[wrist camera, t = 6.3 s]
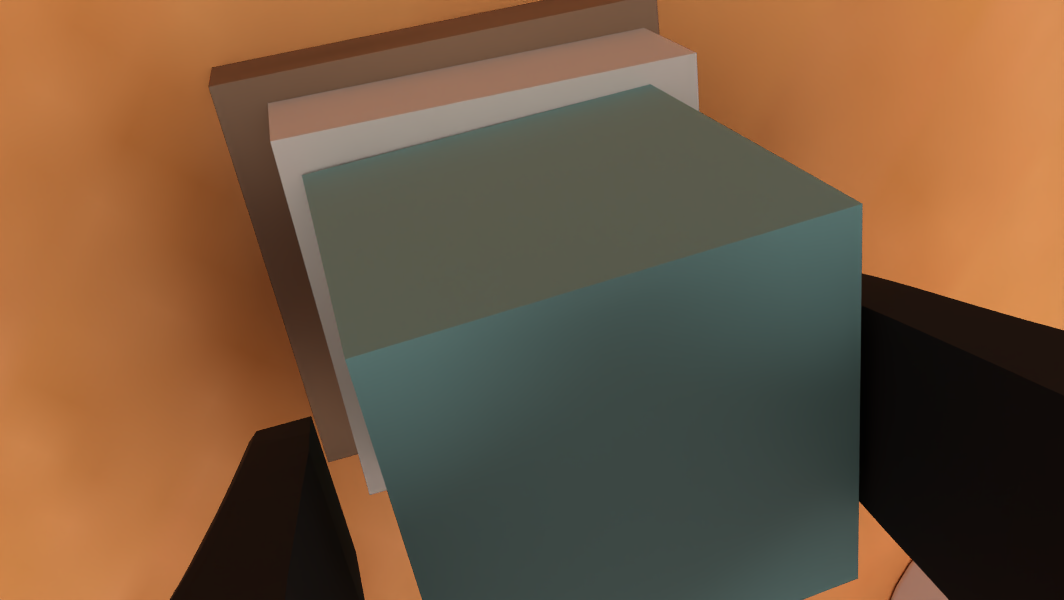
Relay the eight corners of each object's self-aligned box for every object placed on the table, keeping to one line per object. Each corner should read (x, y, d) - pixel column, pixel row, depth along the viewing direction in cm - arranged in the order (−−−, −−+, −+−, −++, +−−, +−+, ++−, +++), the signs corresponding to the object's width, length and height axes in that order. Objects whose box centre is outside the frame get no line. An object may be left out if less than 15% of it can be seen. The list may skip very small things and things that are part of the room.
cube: (681, 373, 15) (858, 577, 11) (392, 466, 14) (463, 730, 10) (650, 83, 13) (862, 203, 9) (301, 174, 12) (344, 360, 8)
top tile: (666, 343, 17) (711, 398, 16) (357, 426, 16) (369, 494, 15) (644, 28, 15) (695, 53, 13) (268, 103, 14) (269, 141, 12)
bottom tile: (645, 316, 19) (683, 361, 18) (321, 403, 18) (328, 462, 17) (613, -23, 16) (656, -6, 14) (214, 58, 15) (208, 87, 13)
